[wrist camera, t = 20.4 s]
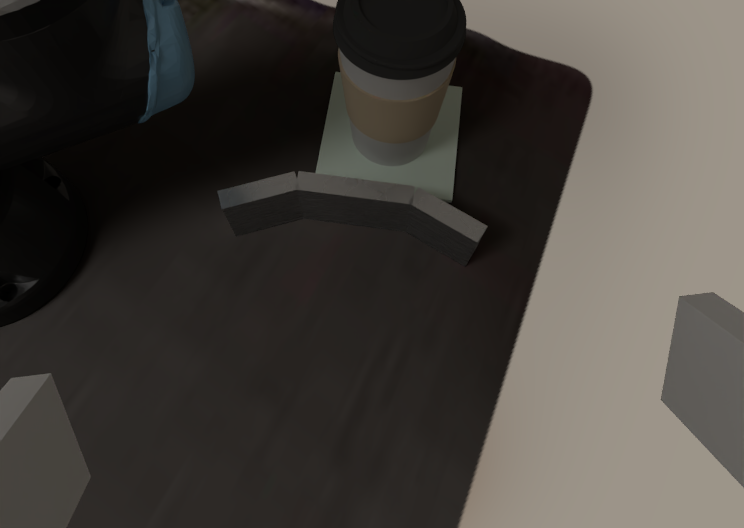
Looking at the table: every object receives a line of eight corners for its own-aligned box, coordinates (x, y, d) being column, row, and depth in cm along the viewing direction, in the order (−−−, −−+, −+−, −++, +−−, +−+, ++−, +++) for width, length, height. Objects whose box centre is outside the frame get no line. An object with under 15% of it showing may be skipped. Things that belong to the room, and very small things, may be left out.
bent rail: (227, 235, 45) (212, 208, 40) (238, 192, 46) (225, 161, 42) (473, 267, 44) (486, 243, 40) (476, 223, 46) (489, 195, 41)
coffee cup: (395, 196, 46) (411, 77, 32) (318, 136, 48) (301, -1, 34) (460, 130, 49) (501, -8, 35) (384, 75, 51) (394, -75, 37)
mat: (313, 184, 47) (313, 182, 47) (335, 74, 51) (335, 71, 51) (451, 202, 47) (452, 200, 46) (461, 90, 51) (462, 87, 50)
